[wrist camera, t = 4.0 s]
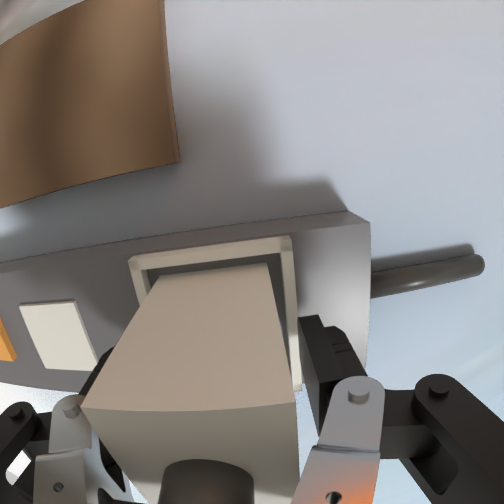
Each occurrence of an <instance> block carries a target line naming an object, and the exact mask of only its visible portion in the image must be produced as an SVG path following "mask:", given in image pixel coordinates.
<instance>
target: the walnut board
mask: <svg viewBox="0 0 504 504" xmlns="http://www.w3.org/2000/svg"><path fill="white" fill-rule="evenodd" d="M174 163H180V155H179V148H178V141H177V133H176V125H175V117H174V109H173V101H172V92H171V82H170V72H169V62H168V51H167V39H166V26H165V11H164V0H84V1H82V2H80V3H77V4H75V5H73V6H71V7H68V8H66V9H64V10H62V11H60V12H58V13H56V14H54V15H52V16H50V17H48V18H46V19H44V20H42V21H40V22H38V23H36V24H35V25H33V26H31V27H29V28H27V29H26V30H24V31H22V32H21V33H19V34H17V35H16V36H14V37H12V38H11V39H9V40H8V41H6V42H4V43H3V44H1V45H0V208H3V207H7V206H10V205H13V204H16V203H19V202H22V201H25V200H28V199H31V198H35V197H38V196H41V195H44V194H48V193H51V192H55V191H58V190H62V189H65V188H69V187H72V186H76V185H80V184H84V183H88V182H91V181H95V180H99V179H104V178H108V177H112V176H116V175H121V174H125V173H130V172H134V171H139V170H144V169H149V168H153V167H159V166H164V165H169V164H174Z"/></svg>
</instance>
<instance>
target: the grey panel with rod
mask: <svg viewBox="0 0 504 504" xmlns="http://www.w3.org/2000/svg"><path fill="white" fill-rule="evenodd" d="M265 262H267V266H268V270H269V275H270V280H271V284H272V289H273V294H274V299H275V303H276V308H277V313H278V317H279V322H280V327H281V332H282V337H283V341H284V346H285V351H286V356H287V361H288V365H289V370H290V375H291V380H292V385H293V390H294V392H299V391H302V384H303V383H305V381H304V377H303V373H302V369H301V364H300V357H299V343H298V328H297V317H303V316H310V315H316V314H318V315H319V317H320V319H321V321H322V323H323V326H324V327H329V326H336V327H338V328H339V329H341V330H342V331H344V332H345V334H346V336H347V338H348V339H349V342H350V343H351V345H352V347H353V350H354V351H355V353H356V354H357V356H358V358H359V360H360V362H361V364H362V366H363V368H364V370H365V368H366V358H367V346H368V331H369V313H370V299H372V298H377V297H382V296H388V295H393V294H398V293H403V292H408V291H413V290H418V289H422V288H427V287H432V286H436V285H441V284H445V283H450V282H454V281H458V280H462V279H467V278H471V277H475V276H478V275H480V274H481V273H482V272H483V271H484V268H485V262H484V259H483V258H482V257H481V256H480V255H477V254H473V255H468V256H463V257H458V258H452V259H447V260H442V261H436V262H431V263H425V264H420V265H414V266H408V267H403V268H397V269H391V270H385V271H379V272H372V273H371V235H370V222H368V221H366V220H364V219H363V218H361V217H359V216H357V215H355V214H354V213H352V212H350V211H345V212H335V213H326V214H317V215H309V216H300V217H292V218H283V219H275V220H267V221H259V222H251V223H244V224H236V225H229V226H221V227H214V228H207V229H199V230H192V231H185V232H178V233H172V234H165V235H158V236H152V237H145V238H138V239H132V240H126V241H119V242H113V243H107V244H101V245H95V246H89V247H83V248H77V249H71V250H66V251H60V252H54V253H49V254H43V255H38V256H32V257H27V258H22V259H16V260H11V261H6V262H1V263H0V382H3V383H8V384H14V385H20V386H26V387H33V388H40V389H48V390H57V391H66V392H77V393H79V392H80V391H81V389H82V387H83V386H84V384H85V382H86V381H87V379H88V377H89V376H90V374H91V372H93V369H94V367H95V366H96V365H97V363H98V361H99V359H100V358H101V356H102V355H103V354H104V353H105V352H107V351H108V350H109V349H110V348H111V347H115V345H116V344H117V342H118V340H119V339H120V337H121V335H122V334H123V333H124V331H125V330H126V328H127V326H128V325H129V323H130V322H131V320H132V318H133V317H134V315H135V314H136V312H137V310H138V309H139V307H140V306H141V304H142V303H143V301H144V299H145V298H146V296H147V295H148V293H149V292H150V290H151V289H152V287H153V286H154V284H155V283H156V281H157V280H158V278H159V277H160V275H169V274H177V273H185V272H194V271H202V270H210V269H218V268H226V267H234V266H242V265H250V264H258V263H265Z"/></svg>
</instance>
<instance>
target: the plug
mask: <svg viewBox="0 0 504 504" xmlns="http://www.w3.org/2000/svg"><path fill="white" fill-rule="evenodd" d="M80 407H81V409H82V411H83V413H84V414H85V416H86V418H87V419H88V421H89V422H90V424H91V426H92V427H93V429H94V430H95V432H96V434H97V435H98V437H99V438H100V440H101V441H102V443H103V444H104V446H105V447H106V449H107V450H108V451H109V453H110V454H111V456H112V457H113V458H114V460H115V461H116V463H117V464H118V465H119V467H120V468H121V469H122V471H123V472H124V473H125V475H126V476H127V477H128V478H129V480H130V481H131V482H132V483H133V485H134V486H135V487H136V488H137V490H138V491H139V492H140V493H141V494H142V496H143V497H144V498H145V499H146V500H147V501H148V503H149V504H290V503H291V501H292V498H293V496H294V493H295V491H296V488H297V486H298V483H299V480H300V473H299V450H298V430H297V413H296V400H295V395H294V390H293V385H292V380H291V375H290V370H289V365H288V361H287V356H286V351H285V346H284V341H283V337H282V332H281V327H280V322H279V317H278V313H277V308H276V303H275V299H274V294H273V289H272V284H271V280H270V275H269V270H268V266H267V262H265V263H258V264H250V265H242V266H234V267H226V268H218V269H210V270H202V271H194V272H185V273H177V274H169V275H160V277H159V278H158V280H157V281H156V283H155V284H154V286H153V287H152V289H151V290H150V292H149V293H148V295H147V296H146V298H145V299H144V301H143V303H142V304H141V306H140V307H139V309H138V310H137V312H136V314H135V315H134V317H133V318H132V320H131V322H130V323H129V325H128V326H127V328H126V330H125V331H124V333H123V334H122V336H121V338H120V339H119V341H118V343H117V344H116V346H115V348H114V349H113V351H112V353H111V354H110V356H109V358H108V359H107V361H106V363H105V364H104V366H103V368H102V369H101V371H100V373H99V375H98V376H97V378H96V380H95V382H94V383H93V385H92V387H91V389H90V390H89V392H88V394H87V396H86V397H85V399H84V401H83V403H82V405H81V406H80Z"/></svg>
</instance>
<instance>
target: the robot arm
mask: <svg viewBox="0 0 504 504" xmlns="http://www.w3.org/2000/svg"><path fill="white" fill-rule="evenodd" d="M297 328H298V343H299V357H300V364H301V369H302V373H303V377H304V381H305V385H306V389H307V393H308V397H309V401H310V405H311V409H312V413H313V417H314V421H315V425H316V429H317V433H318V437H319V440H318V443H317V445H314V446H313V447H312V449H311V451H310V453H309V456H308V459H307V461H306V464H305V467H304V470H303V472H302V475H301V478H300V480H299V483H298V486H297V488H296V491H295V493H294V496H293V498H292V501H291V503H290V504H372V502H373V497H374V492H375V486H376V481H377V475H378V469H379V462H380V459H399V460H400V461H401V462H402V464H403V465H404V467H405V468H406V469H407V471H408V472H409V473H410V475H411V476H412V477H413V479H414V480H415V482H416V483H417V484H418V486H419V487H420V488H421V490H422V491H423V492H424V494H425V495H426V496H427V498H428V499H429V501H430V502H431V503H432V504H504V422H503V421H502V420H501V419H500V418H499V417H498V416H496V415H495V414H494V413H493V412H492V411H491V410H490V409H489V408H488V407H486V406H485V405H484V404H483V403H482V402H481V401H480V400H479V399H477V398H476V397H475V396H474V395H473V394H472V393H471V392H469V391H468V390H467V389H466V388H465V387H464V386H463V385H461V384H460V383H459V382H458V381H457V380H455V379H454V378H452V377H450V376H448V375H444V374H431V375H428V376H425V377H423V378H422V379H420V380H419V381H418V382H417V384H416V386H415V390H387V389H384V387H383V386H382V384H381V383H380V382H379V381H377V380H375V379H373V378H371V377H368V376H367V374H366V372H365V370H364V368H363V366H362V364H361V362H360V360H359V358H358V356H357V354H356V353H355V351H354V350H353V347H352V345H351V343H350V342H349V339H348V338H347V336H346V334H345V332H344V331H342V330H341V329H339V328H338V327H336V326H329V327H324V326H323V323H322V321H321V319H320V317H319V315H318V314H316V315H310V316H303V317H297ZM121 336H122V335H121ZM120 338H121V337H120ZM118 341H119V340H118ZM117 343H118V342H117ZM115 346H116V345H115ZM114 348H115V347H111V348H110V349H109V350H108V351H107V352H105V353H104V354H103V355H102V356H101V358H100V359H99V361H98V363H97V365H96V366H95V367H94V369H93V372H91V374H90V376H89V377H88V379H87V381H86V382H85V384H84V386H83V387H82V389H81V391H80V392H79V394H75V395H70V396H67V397H65V398H63V399H61V400H60V401H59V402H57V404H56V405H55V406H54V408H53V411H52V412H47V413H39V414H37V413H36V412H35V410H34V408H33V407H32V405H31V404H30V403H28V402H17V403H14V404H12V405H11V406H9V407H8V408H7V409H6V410H5V411H4V412H3V413H2V414H1V415H0V504H143V503H136V502H134V500H133V497H132V493H131V489H130V484H129V480H128V477H127V476H126V475H125V473H124V472H123V471H122V469H121V468H120V467H119V465H118V464H117V463H116V461H115V460H114V458H113V457H112V456H111V454H110V453H109V451H108V450H107V449H106V447H105V446H104V444H103V443H102V441H101V440H100V438H99V437H98V435H97V434H96V432H95V430H94V429H93V427H92V426H91V424H90V422H89V421H88V419H87V418H86V416H85V414H84V413H83V411H82V409H81V407H80V406H81V405H82V403H83V401H84V399H85V397H86V396H87V394H88V392H89V390H90V389H91V387H92V385H93V383H94V382H95V380H96V378H97V376H98V375H99V373H100V371H101V369H102V368H103V366H104V364H105V363H106V361H107V359H108V358H109V356H110V354H111V353H112V351H113V349H114ZM21 450H23V451H24V453H25V454H26V455H27V456H28V457H29V459H30V460H31V462H30V463H29V465H28V466H27V467H26V469H25V470H24V471H23V473H22V474H21V475H20V477H19V478H18V479H17V481H16V482H15V483H14V485H11V484H9V482H8V481H7V479H6V475H5V474H6V470H7V468H8V467H9V466H10V464H11V463H12V462H13V461H14V459H15V458H16V457H17V455H18V454H19V453H20V452H21Z"/></svg>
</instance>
